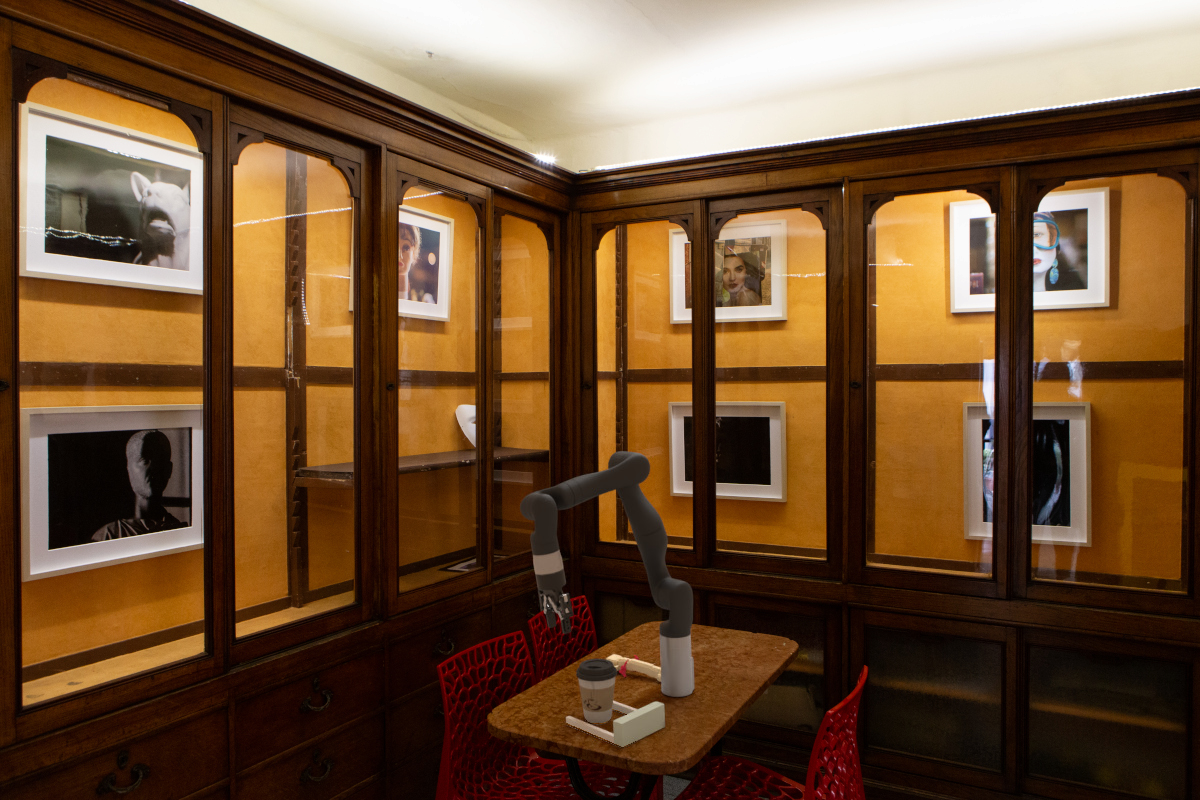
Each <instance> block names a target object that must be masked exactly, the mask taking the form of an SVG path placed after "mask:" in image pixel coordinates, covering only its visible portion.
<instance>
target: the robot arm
mask: <svg viewBox="0 0 1200 800" xmlns="http://www.w3.org/2000/svg"><path fill="white" fill-rule="evenodd" d="M650 473H651V464H650V461H649V459H648V458H647V456H646V455H644V454H642V453H640V452H634V451H625V450H624V451H623V450H621V451H616V452H613V453H612V454H611V455H610V457H609V458H608V463H607V469H605V470H600V471H596V472H592V473H586V474H583V475H578V476H576V477H573V478H571V479H568V480H566V481H563V482H561V483H558V484H556V485H554V486H551V487H548V488H543V489H540V490H536V491H533V492H531V493H528V494H527V495H526V496H524V497H523V499H522V500H521V502H520V506H519V511H520V513H521V515H522V516H523V518H525V519H526V520H529V521H534V531H532V532H531V534H530V536H529V537H530V539H529V540H530V544H531V552H532V558H533V559H532V561H533V568H534V569H533V570H534V573H535V579H536V580H535V581H536V585H537V593H538V599H539V608H540V611H543V613H544V614H545V617H546V623H547V627H548V628H550V629H552V628H556V627H557V620H556V615H555V613H556V614H558V616H559V618H560V625H561V629H562V634H564V635H567V634H569V633H571V632H572V626H571V619H570V618H571V617H573V616H574V610H573V607H572V606H573V605H572V601H571V600H572V599H571V596H570V593H569V592H566V593H564V592H563V587H564V586H566V584H567V580H566V574H565V569H564V562H563V557H562V555H561V552H560V551H561V550H560V546H559V539H558V535H557V531H558V518H559V517H558V512H559V511H561V510H562V511H563V510H568V509H571V508H574V507H575V506H577V505H580V504H582V503H585V502H586V501H589V500H591V499H593V498H596V497H599V496H602V495H603V494H604V495H605V494H607V493H609V492H612V491H616V492H617V494H618V496H619V498H620V500H621V503H622V506H623V508H624V511H625V514H626V516H627V519H628V522H629V524H630V528H631V531H632V534H633V536H634V540H635V542H636V544H637V548H638V550H639V553H640V556H641V559H642V562H643V565H644V569H645V572H646V574H647V579H648V584H649V589H650V593H651V596H652V599H653V601H654V603H655V604H656V606H658V607H660V608H661V609H663V610H667V611H669V614H668V615H669V617H668V619H667V620H664V621H662V622H661V623H660V624H659V630H658V631H659V650H660V651H659V652H660V653H659V655H660V658H659V659H660V667H661V682H660V684H661V687H660V688H661V693H662V694H663V695H666V696H668V697H675V698H679V697H680V698H681V697H686V696H690V695H691V694H693V691H694V690H695V670H694V669H695V667H694V664H695V663H694V657H693V656H692V639H691V637H692V636H691V635H692V631H691V629H692V626H693V622H694V593H693V588H692V586H691V585H690V584H689V583H688V582H686V581H684V580H681V579H677V578H672V576H671V574H670V573H669V570H668V567H667V565H666V552H667V548H668V541H669V538H668V535H667V531H666V528H665V525H664V522H663V520H662V518H661V516H660V514H659V512H658V511H657V509H656V508H655V507H654V506H653V505H652V503H651V502H650V501H649V500H648V498H647V497H646V496H645V494H644V492H643V490H642V488H641V486H640V484H641V483H644V482H645V481H646V480H647V478H648V477H649V475H650Z"/></svg>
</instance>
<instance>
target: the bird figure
mask: <svg viewBox="0 0 1200 800" xmlns="http://www.w3.org/2000/svg"><path fill="white" fill-rule="evenodd" d="M633 656H634V658H628V657H623V656H622V655H619V654H615V653H613V654H611V655H609V656H608V657H606V658H605V659H606V660H609V661H611V662H612V663H613V665H614V667H616V669H617V672H619V674H621V675H622V677H623V678H625V677H626V678H627V674H626V673H627V672H626V671H631V672H635V671H636V672H638V673H640V674H641V673H642V674H645V675H647V676H648V677H651V678H655V679H656V680H657V681H658V682H660V683H661V666H656V665H654V663H649V662H646V661H643V660H640V659H639V657H638V655H636V654H634V655H633Z"/></svg>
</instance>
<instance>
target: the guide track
mask: <svg viewBox="0 0 1200 800" xmlns="http://www.w3.org/2000/svg"><path fill="white" fill-rule="evenodd" d="M612 709H614V710H613V711H615V710H618V711H620V712H622V713H621V714H623V713H625V714H627V715H625V714H624V715H623V716H620V717H618V718H616V719H614V720H612V722H613V723H612V727H613V730H612V731H613V732H610V731H608V730H606V729H604V728H601V727H598V726H595V725H594V724H590V723H588V722H586V721H583V720H581V719H578V718H576V717H574V716H571V715H568V716H565V724H566V723H568V724H570V725H572V726H575V727H577V728H580V729H582V730H584V731H587V732H589V733H591V734H593V735H596V736H598V737H601V738H603V739H605V740H608V741H610V742H612V743H614V744H617V745H619V746H621V747H624V746H626V745H628V744H630V745H631V743H632V744H634V743H636V742H638V741H640V740H641V739H643V738H646V737H647V736H649V735H651V734H653V733H656V732H657V731H659V730H661V729H663V728H666V719H665V717H666V716H665V715H666V714H665V703H663V702H659V701H653V702H650V703H649V704H647V705H644V706H642V707H640V708H635V707H632V706H630V705H627V704H625V703H620V702H618V701H616V700H613V708H612ZM620 712H619V713H620ZM635 741H636V742H635ZM633 742H634V743H633ZM612 743H611V744H612ZM614 744H613V745H614ZM619 746H618V747H619ZM628 746H629V745H628ZM621 747H620V748H621ZM626 747H627V746H626ZM624 748H625V747H624Z"/></svg>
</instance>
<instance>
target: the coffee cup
mask: <svg viewBox="0 0 1200 800" xmlns="http://www.w3.org/2000/svg"><path fill="white" fill-rule="evenodd" d="M575 676H576V678H577V679H578V686H579V691H580V698H581V705H582V709H583V716H584V720H585V719H586V720H587V721H588V722H591V723H604V722H607V721H609V720H610V719H612V715H613V710H612V708H613V701H614V694H615V686H616V685H615V683H616V677H617V676H618V671H617V669H616V667H614V665H613V663H612V662H611V661H609V660H606V658H591V659H586V660H583V661H581V662H580V664H579V665H578V668H577V669H576V673H575ZM586 720H585V721H586ZM610 721H611V720H610ZM610 721H609V722H610ZM588 722H587V723H588ZM607 723H608V722H607ZM604 724H605V723H604Z"/></svg>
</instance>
